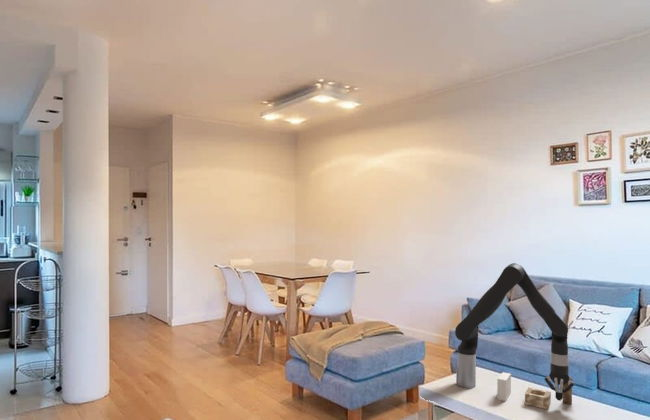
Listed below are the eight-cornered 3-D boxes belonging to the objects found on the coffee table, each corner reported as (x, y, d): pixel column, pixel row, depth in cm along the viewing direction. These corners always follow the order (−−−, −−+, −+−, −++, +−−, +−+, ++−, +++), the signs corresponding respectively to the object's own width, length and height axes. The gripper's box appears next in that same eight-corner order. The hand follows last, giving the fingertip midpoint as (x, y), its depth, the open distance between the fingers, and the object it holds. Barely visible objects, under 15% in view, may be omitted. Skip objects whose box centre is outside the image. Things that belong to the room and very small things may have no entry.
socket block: (524, 404, 213) (524, 393, 213) (528, 397, 221) (528, 387, 221) (548, 409, 207) (548, 398, 207) (550, 402, 216) (550, 391, 216)
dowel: (562, 402, 216) (562, 377, 216) (562, 400, 219) (563, 375, 219) (571, 404, 213) (571, 379, 214) (572, 402, 217) (572, 377, 217)
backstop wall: (497, 399, 219) (497, 378, 219) (502, 391, 229) (502, 372, 229) (505, 401, 216) (506, 380, 217) (510, 393, 226) (510, 373, 227)
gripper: (542, 362, 210) (542, 399, 210) (574, 367, 203) (574, 406, 203) (544, 358, 217) (544, 394, 216) (575, 363, 209) (575, 400, 209)
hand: (559, 399), depth 209 cm, fingers closed
